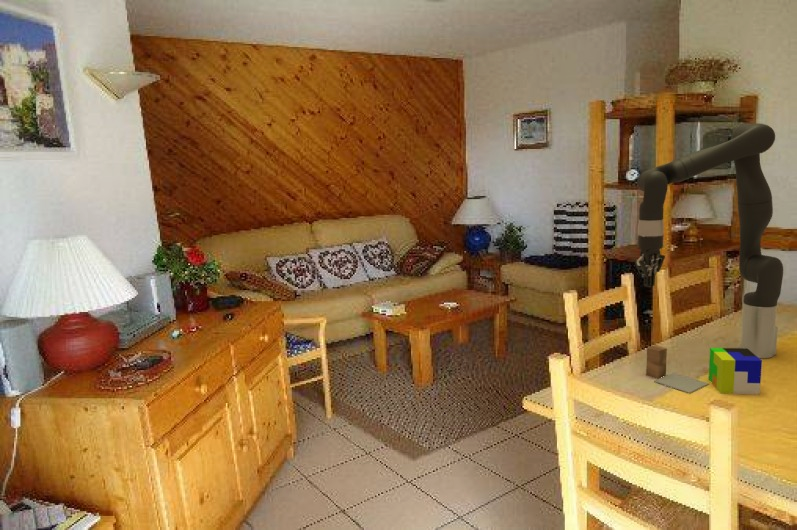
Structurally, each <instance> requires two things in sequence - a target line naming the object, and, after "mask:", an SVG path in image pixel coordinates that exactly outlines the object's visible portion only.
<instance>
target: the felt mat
mask: <svg viewBox="0 0 797 530" xmlns="http://www.w3.org/2000/svg"><path fill="white" fill-rule="evenodd" d="M655 382H656V383H655ZM653 383H655V384H658V383H660V384H659V385H661V384H663V385H662V386H664V385H666V386H665V387H667V386H669V387H668V388H670V387H672V388H671V389H673V388H675V389H674V390H676V389H678V390H677V391H679V390H681V391H680V392H682V391H684V392H683V393H685V392H686V393H685V394H688V393H690V394H692V393H694V392H696V391H699V390H701V389H703V388H705V387H707V386H709V384H710V383H709V382H705V381H701V380H698V379H696V378H693V377H689V376H686V375H683V374H679V373H677V372H671V373H669V374H666V376H664V377H662V378H659V379H655V380H653ZM704 386H705V387H704ZM702 387H703V388H702ZM700 388H701V389H700ZM698 389H699V390H698ZM691 392H692V393H691Z"/></svg>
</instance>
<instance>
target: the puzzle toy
mask: <svg viewBox="0 0 797 530" xmlns="http://www.w3.org/2000/svg"><path fill="white" fill-rule="evenodd" d="M708 362H709V363H708V364H709V365H708V367H709V368H708V381H711V382H712V383H711V382H710V383H711V384H712V385H713V387H715V389H716V388H717V389H716V390H717V391H718V392H719V393H720V394H730V395H731V394H733V395H735V394H737V395H740V394H741V395H760V394H761V393H760V391H761V381H762V380H761V379H762V365H763V360H762V358H758V357H757V356H756V355H755V354H753V353H752V352H751V351H750V350H749V349H747V348H741V347H738V348H736V347H734V348H733V347H727V348H726V347H710V348H709V361H708Z"/></svg>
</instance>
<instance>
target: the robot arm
mask: <svg viewBox="0 0 797 530" xmlns="http://www.w3.org/2000/svg"><path fill="white" fill-rule="evenodd" d="M775 140H776V132H775V130H774V129H773V128H772V127H771V126H770V125H769V124H766V123H765V124H764V123H760V122H759V123H757V122H756V123H750V122H749V123H743V124H739V125H738V126H737V127H736V128H734V130H733V131H732V133H731V136H730V140H727V141H725V142H722V143H719V144H716V145H714V146H710V147H706V148H703V149H700V150H696V151H693V152H690V153H688V154H686V155H683V156H681V157H678V158H676V159H674V160H672V161H669V162H667V163H665V164H661V165H658V166H654V167H652V168H650V169H647V170H645V171H643V172H642V173H640V174H639V176H638V178H637V181H636V184H637V187H638V188H639V190H640V191H642V192H643V199H642V201H641V202H640V204H639V208H638V209H639V210H638V211H639V213H638V225H637V248H638V249H640V252H639V258H638V259H634V264H635V267H636V268H637V269H636V270H637V271H638V274H639V275H642V276H643V286H644V287H645V288H651V287H654V286H655V284H656V282H655V281H656V276H657V273H659V272H660V271H661V268H662V266H663V263H664V261H665V259H666V258H665V257H666V255H664V254H661V251H660V250H661V249H663V248H664V229H665V227H664V204H665V201H666V197H667V192H668V185H670V184H673V183H680V182H684V181H686V180H688V179H690V178H693V177H695V176H698V175H701V174H702V173H705V172H706V171H710V170H712V169H714V168H717V167H720V166H723V165H725V164H728V163H730V162H734V163H733V164H734V167H735V168H734V169H735V178H736V179H735V180H736V193H737V213H738V220H739V243H740V244H739V258H738V259H739V262H738V268H739V274H740V276H741V277H742V278H743V279H744V280H745V281H747V282H751V283H756V290H755V291H752V292H751V291H750V292H747V293H745V294H744V296H743V303H742V318H741V319H742V320H741V321H742V322H741V334H740V335H741V336H740V348H747V349H749V350H750V351H751V352H752V353H753V354H755V355H756V356H757V357H758V358H759V359H770V358H772V357H774V356H776V355H777V345H778V344H777V343H778V331H779V330H778V329H779V327H778V326H776V324H777V322H776V321H777V309H778V308H777V307H778V306H777V305H778V300H779V298H780V296H781V291H782V285H783V279H784V265H783V262H782V260H781V259H779V258H778V257H775V256H770V255H764V254H762V248H761V244H762V243H761V241H762V237H763V234H764V232H765V231H766V229H767V228H768V225H769V224H770V222H771V221H772V217H773V213H774V212H773V211H774V208H773V206H774V205H773V196H772V195H773V194H772V190H771V188H770V185H769V183H768V181H767V179H766V177H765V175H764V172H763V169H762V166H761V165H762V164H761V154H763V153H765V152H767V151H768V150H770V148H772V147H773V145H774V143H775V142H776V141H775Z"/></svg>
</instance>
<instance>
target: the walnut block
mask: <svg viewBox="0 0 797 530" xmlns="http://www.w3.org/2000/svg"><path fill="white" fill-rule="evenodd" d="M667 353H668V348H667V347H665V346H661V345H658V344H657V345H656V344H654V345H651V346H648V347H647V348H646V371H645V373H646V376H648V377H650V378H653V377H654V379H656V378H657V379H659V378H661V377H663V376H666V375H667V358H668V357H667V355H668V354H667ZM657 379H656V380H657Z"/></svg>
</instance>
